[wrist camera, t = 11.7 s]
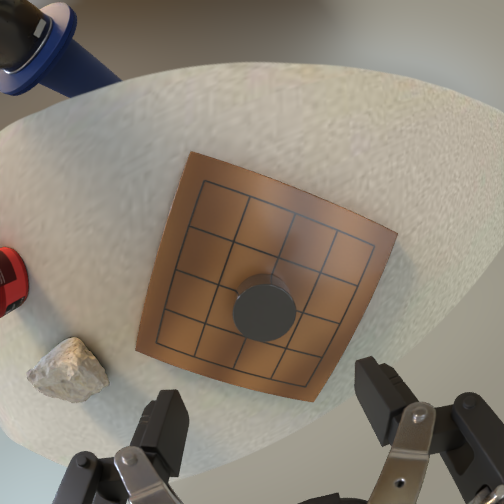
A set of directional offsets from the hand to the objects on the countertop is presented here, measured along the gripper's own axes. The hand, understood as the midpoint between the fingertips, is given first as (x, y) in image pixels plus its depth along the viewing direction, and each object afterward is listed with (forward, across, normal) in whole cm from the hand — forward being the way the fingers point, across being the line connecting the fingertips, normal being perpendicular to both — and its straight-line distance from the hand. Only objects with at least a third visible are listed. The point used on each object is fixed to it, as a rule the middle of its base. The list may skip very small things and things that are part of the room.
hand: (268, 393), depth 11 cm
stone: (+15, +24, +7) cm, 29 cm away
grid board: (+15, 0, +1) cm, 15 cm away
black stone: (+13, 0, +1) cm, 13 cm away
